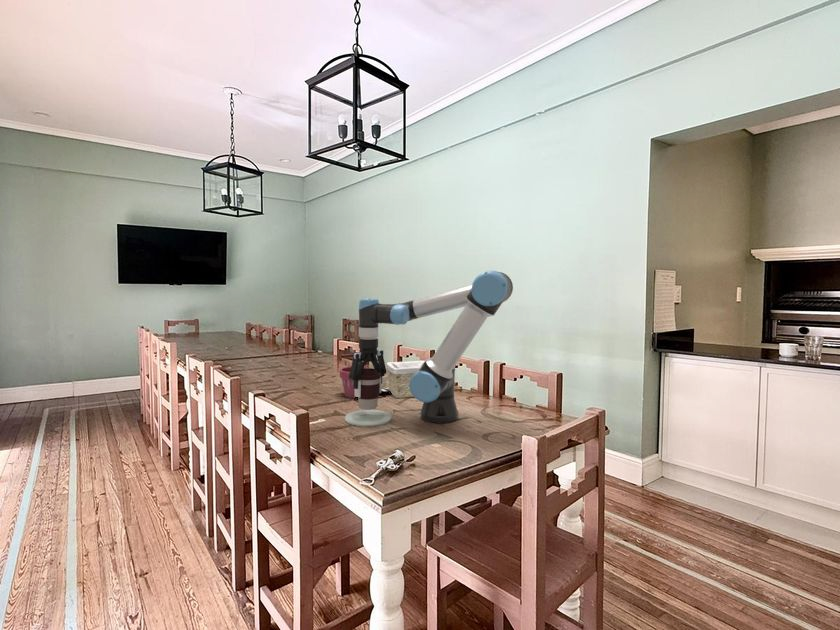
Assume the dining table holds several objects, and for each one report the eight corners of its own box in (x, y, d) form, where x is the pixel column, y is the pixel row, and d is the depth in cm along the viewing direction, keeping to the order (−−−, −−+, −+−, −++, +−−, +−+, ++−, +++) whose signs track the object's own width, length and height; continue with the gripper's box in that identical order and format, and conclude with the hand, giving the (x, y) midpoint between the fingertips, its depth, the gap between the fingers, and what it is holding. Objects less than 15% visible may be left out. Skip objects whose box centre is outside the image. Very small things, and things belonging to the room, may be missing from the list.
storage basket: (393, 399, 205) (394, 368, 204) (385, 391, 220) (385, 361, 219) (442, 395, 212) (442, 365, 211) (430, 388, 228) (430, 359, 227)
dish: (370, 409, 188) (370, 406, 187) (400, 419, 175) (400, 416, 175) (335, 419, 174) (335, 415, 174) (365, 430, 162) (365, 426, 162)
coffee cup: (382, 404, 179) (383, 367, 178) (377, 411, 169) (378, 372, 168) (358, 403, 180) (358, 366, 179) (352, 410, 170) (352, 371, 169)
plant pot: (371, 398, 205) (372, 371, 204) (341, 400, 202) (341, 372, 201) (367, 391, 219) (367, 365, 218) (338, 392, 215) (338, 366, 214)
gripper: (383, 334, 183) (382, 388, 185) (339, 339, 167) (338, 397, 168) (396, 336, 178) (395, 391, 180) (351, 341, 162) (351, 401, 163)
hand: (368, 394), depth 174 cm, fingers closed on coffee cup, 10 cm apart
